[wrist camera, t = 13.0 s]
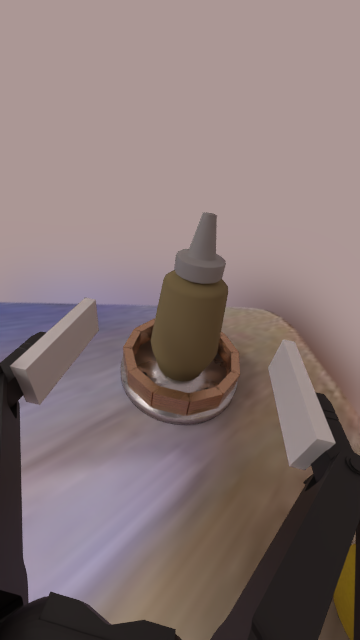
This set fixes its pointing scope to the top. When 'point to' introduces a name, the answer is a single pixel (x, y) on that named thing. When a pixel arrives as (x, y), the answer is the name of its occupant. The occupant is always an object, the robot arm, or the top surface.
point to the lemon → (346, 593)
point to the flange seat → (177, 382)
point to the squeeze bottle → (191, 307)
